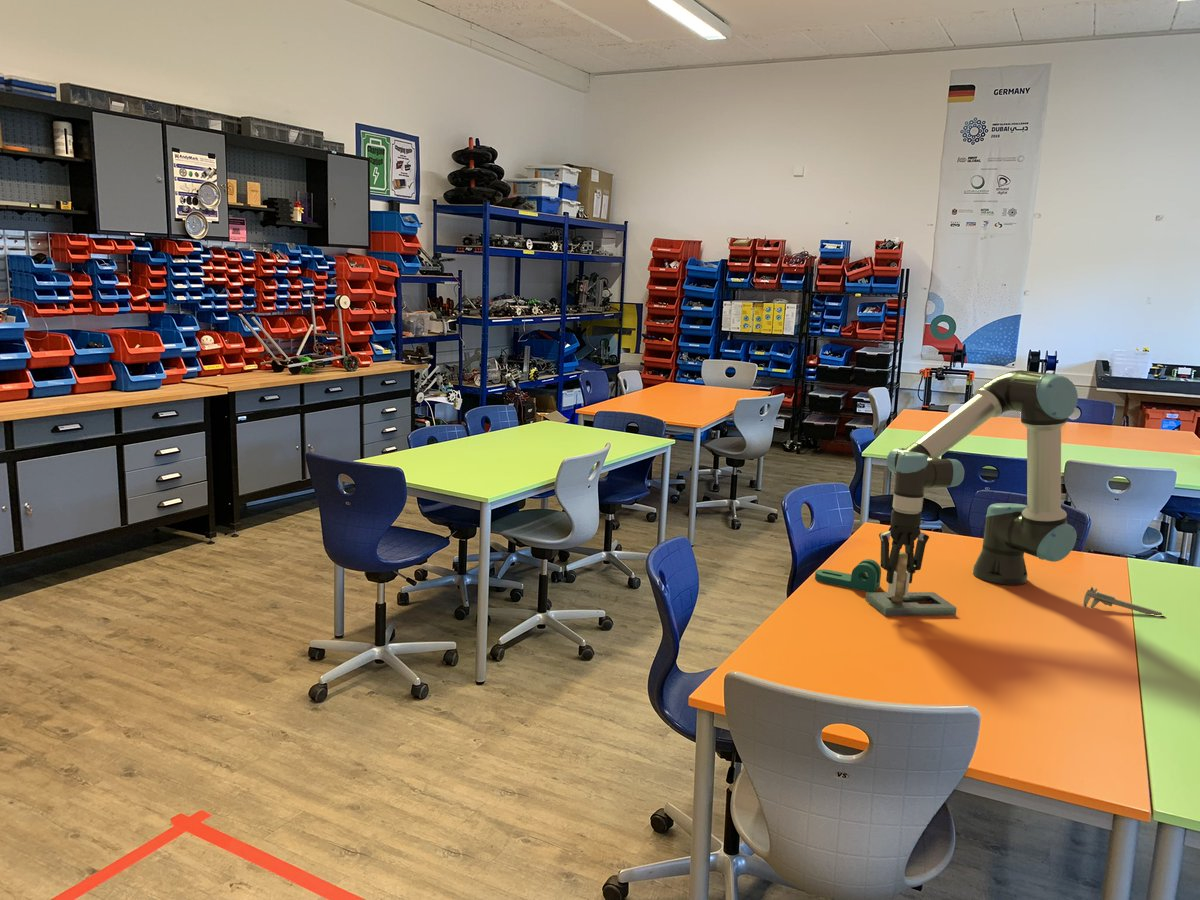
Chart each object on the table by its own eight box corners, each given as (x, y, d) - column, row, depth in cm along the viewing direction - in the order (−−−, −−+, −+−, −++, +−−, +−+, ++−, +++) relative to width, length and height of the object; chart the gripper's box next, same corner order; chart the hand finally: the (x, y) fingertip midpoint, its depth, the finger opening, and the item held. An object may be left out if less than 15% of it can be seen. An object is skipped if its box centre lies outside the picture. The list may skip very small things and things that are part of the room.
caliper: (1083, 608, 245) (1087, 586, 244) (1082, 606, 246) (1086, 585, 245) (1166, 618, 240) (1170, 597, 239) (1165, 617, 241) (1168, 595, 240)
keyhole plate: (933, 599, 246) (933, 592, 245) (955, 615, 234) (956, 607, 234) (865, 600, 243) (866, 592, 242) (885, 616, 231) (885, 608, 231)
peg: (900, 603, 240) (906, 551, 238) (908, 609, 236) (914, 556, 233) (883, 603, 240) (889, 550, 237) (891, 610, 235) (897, 556, 232)
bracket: (879, 587, 255) (882, 561, 253) (873, 593, 249) (876, 567, 247) (818, 575, 264) (821, 549, 262) (811, 580, 258) (814, 555, 256)
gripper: (928, 507, 238) (918, 589, 242) (872, 506, 235) (863, 589, 240) (942, 514, 230) (932, 599, 235) (884, 513, 228) (875, 599, 232)
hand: (897, 594), depth 237 cm, fingers closed on peg, 3 cm apart
